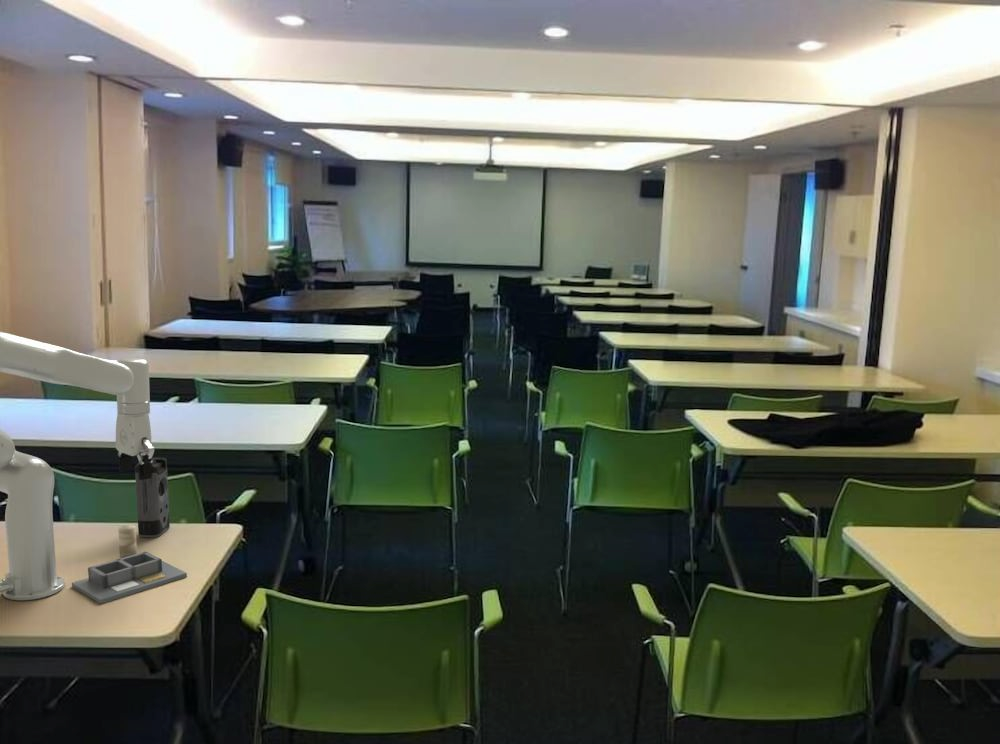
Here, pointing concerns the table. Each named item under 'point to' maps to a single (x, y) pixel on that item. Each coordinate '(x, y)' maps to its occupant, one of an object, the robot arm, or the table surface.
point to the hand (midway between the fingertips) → (135, 475)
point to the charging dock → (126, 577)
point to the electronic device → (153, 500)
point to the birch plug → (127, 541)
